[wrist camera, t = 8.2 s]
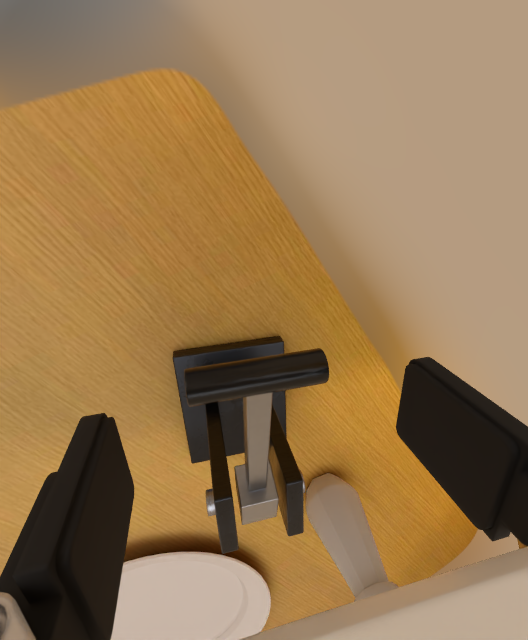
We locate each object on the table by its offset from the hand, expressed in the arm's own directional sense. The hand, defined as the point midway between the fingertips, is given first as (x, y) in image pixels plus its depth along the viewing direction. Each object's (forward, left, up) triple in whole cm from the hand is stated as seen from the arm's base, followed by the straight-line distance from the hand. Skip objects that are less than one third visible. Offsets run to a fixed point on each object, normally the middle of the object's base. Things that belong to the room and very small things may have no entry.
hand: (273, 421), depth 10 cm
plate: (+39, -11, -16) cm, 43 cm away
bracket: (+11, 0, -16) cm, 19 cm away
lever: (+5, 0, -6) cm, 8 cm away
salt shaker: (+25, +9, -16) cm, 31 cm away
